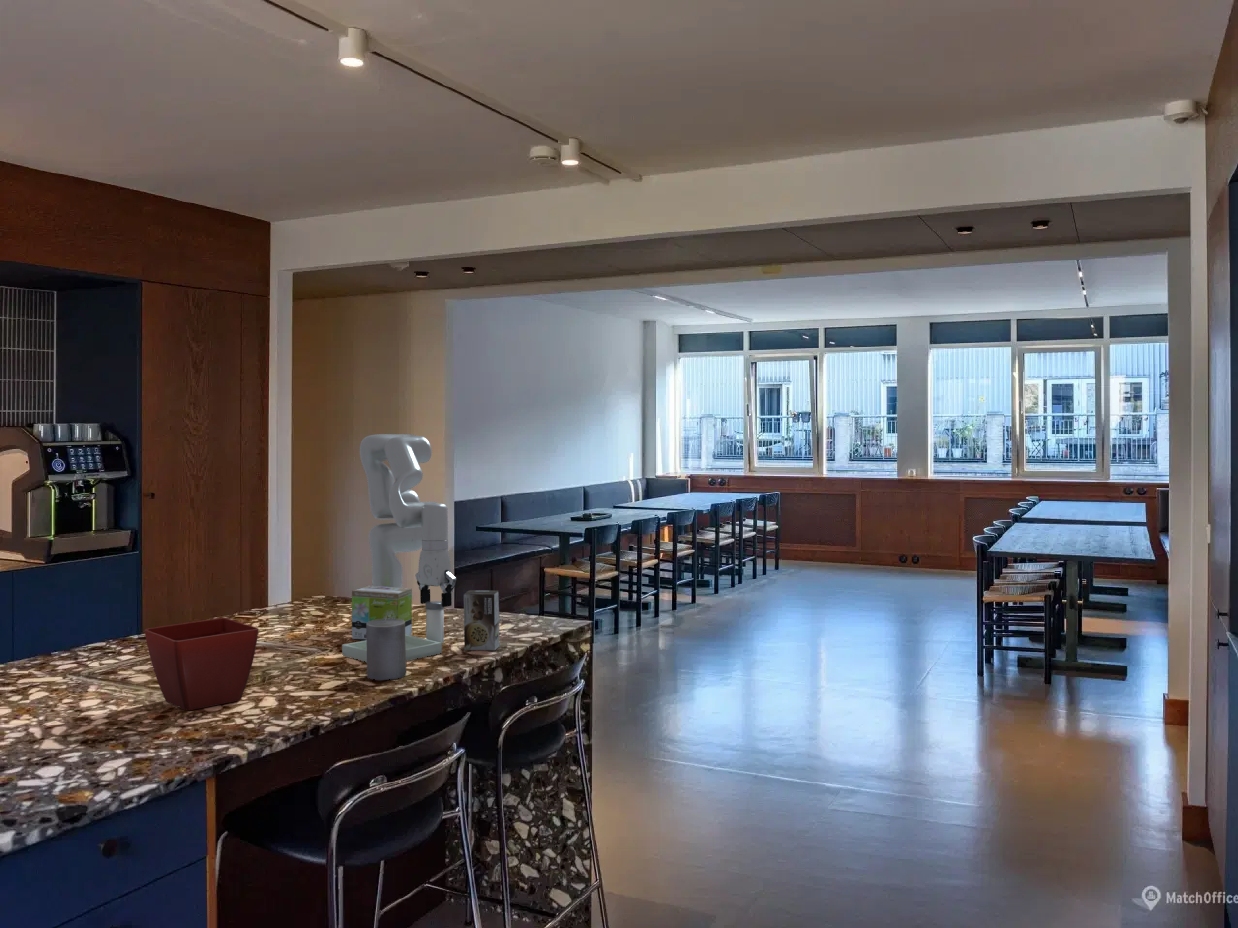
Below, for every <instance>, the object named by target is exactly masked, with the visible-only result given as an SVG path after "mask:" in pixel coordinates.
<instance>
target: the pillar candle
mask: <svg viewBox="0 0 1238 928" xmlns="http://www.w3.org/2000/svg"><path fill="white" fill-rule="evenodd" d="M366 638H367V662H366V677H367V679H369V678H370V679H369V680H373V679H375V680H374V681H389V679H390V680H398V678H399V679H402V678H404V677H406V674H407V661H406V645H405V621H404V620H401V619H387V617H386V619H377V620H372V621H369V622H367V623H366Z"/></svg>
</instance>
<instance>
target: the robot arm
mask: <svg viewBox="0 0 1238 928" xmlns="http://www.w3.org/2000/svg"><path fill="white" fill-rule="evenodd" d="M359 445H360V446H359V458H360V462H361V466H362V469H363V470H364V472H365V476H366V479H367V481H366V482H367V489H368V499H369V509H370V513H371V515H372V517H373V518H374V519H376V520H394V522H387V523H384V522H383V523H379V524H376V525H374V526H373V527H371V529H370V530H369V532H368V544H369V550H370V556H371V574H372V575H371V586H381V587H396V588H404V587H403V586H404V583H403V581H404V579H403V577H404V575H403V574H404V573H403V569H404V568H403V565H402V563H401V561H400V560H399V558H398V557H397V556H396V554H399V553H410V552H416V551H419V550H420V553H419V559H418V568H417V569H418V570H417V573H415V579H416V584H417V585H418V590H419V593H420V597H419V598H420V599H419V600H420V604H421V605H423V604H424V605H425V603H426V602H431V588H430V586H431V587H440V589H441V590H442V593H441V602H442V607H444V608H447V607H451V606H452V602H453V601H452V599H453V597H452V593H453V591H454V589H455V587H456V582H457V577H456V576H454V575H453V574H452V566H451V565H452V564H451V557H450V553H449V551H450V550H449V524H448V523H449V521H448V520H449V519H448V517H449V516H448V514H449V512H448V505H446V504H444V503H438V502H436V501H421V499H420V497H419V495H418V493H417V492H416V491H415V490H413V489H412V488H415V487H417V485H419V483H421V482H422V480H423V476H424V472H423V471H422V468H421V466H420V464H426V463H428V462H429V461H431V459H432V453H433V452H432V451H433V450H432V446H431V443H430V442H429V440H428V439H427V438H426V437H425V436H423V435H421V436H420V435H416V434H408V433H407V434H406V433H401V434H399V433H396V434H395V433H391V434H390V433H386V434H385V433H380V434H379V433H377V434H371V435H367V436H365V437H364V438H362V440H361V442H360V444H359ZM384 461H386V462H387V463H388V465H389V466H388V465H387V464H386V463H385V462H384Z"/></svg>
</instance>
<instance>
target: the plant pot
mask: <svg viewBox="0 0 1238 928" xmlns="http://www.w3.org/2000/svg"><path fill="white" fill-rule="evenodd" d="M144 635H145V640H146V645H147V651H148V653H149V657H150V662H151V665H152V668H153V671H154V676H155V677H156V680H157V684H158V686H159V689H160V691H161V693H162V696H163V698H164V700H165V701H166V702H168V703H169V704H171V705H174V706H176V707H177V708H179V709H181V710H183V711H193V710H198V709H203V708H208V707H214V706H218V705H224V704H228V703H233V702H238V701H240V700H242V698H243V695H244V693H245V689H246V686H247V683H248V679H249V677H250V674H251V672H252V671H251V669H252V666H253V662H254V658H255V655H256V654H255V653H256V648H257V642H258V635H259V627H256V626H253V625H251V624H250V625H249V624H246V623H243V622H240V621H236V620H233V619H230V618H227V617H225V618H224V617H220V618H213V619H205V620H198V621H192V622H191V621H190V622H183V623H176V624H170V625H163V626H162V625H161V626H156V627H150V628H145V629H144Z"/></svg>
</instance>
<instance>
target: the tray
mask: <svg viewBox="0 0 1238 928" xmlns="http://www.w3.org/2000/svg"><path fill="white" fill-rule="evenodd" d="M405 645H406V662H408V661H407V660H409V661H414V660H417V658H418V659H422V657H423V658H426V657H427V656H428V657H432V656H436V654H437V655H440V653H442V654H443V651H442V649H443V648H442V647H443V645H442V643H441V642H436V641H432V640H428V639H426V638H422V637H420V636H415V635H411V636H410V635H406V634H405ZM341 649H342V650H341V651H342V652H341V656H342V655H343V657H345V656H346V658H349V657H351V658H350V659H353V658H354V659H353V660H356V659H358V660H357V661H360V660H361V662H364V661H365V663H367V640H365V639H364V640H361V641H360V640H359V641H356V642H355V641H354V642H350V643H344V644H341ZM431 655H432V656H431ZM413 659H414V660H413Z"/></svg>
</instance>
